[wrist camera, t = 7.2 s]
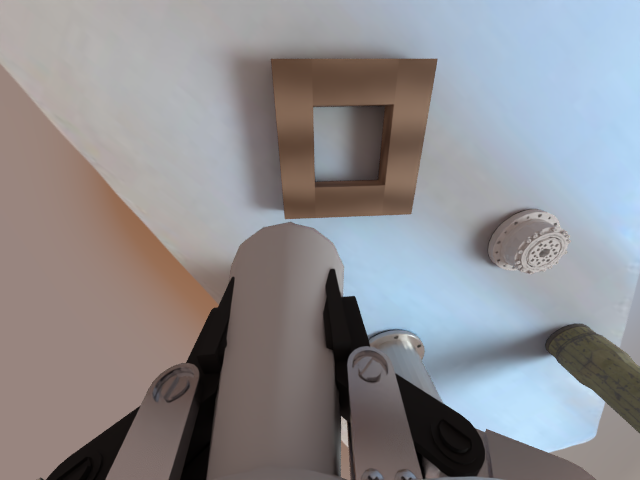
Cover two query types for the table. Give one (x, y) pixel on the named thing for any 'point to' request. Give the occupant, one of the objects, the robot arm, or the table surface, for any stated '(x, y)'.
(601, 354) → the green textured column
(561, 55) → the table surface
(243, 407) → the salt shaker
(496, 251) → the mechanical component
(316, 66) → the holder board
